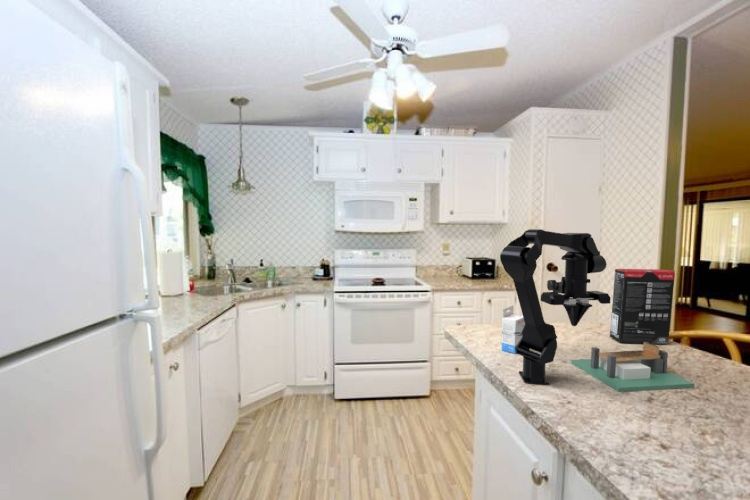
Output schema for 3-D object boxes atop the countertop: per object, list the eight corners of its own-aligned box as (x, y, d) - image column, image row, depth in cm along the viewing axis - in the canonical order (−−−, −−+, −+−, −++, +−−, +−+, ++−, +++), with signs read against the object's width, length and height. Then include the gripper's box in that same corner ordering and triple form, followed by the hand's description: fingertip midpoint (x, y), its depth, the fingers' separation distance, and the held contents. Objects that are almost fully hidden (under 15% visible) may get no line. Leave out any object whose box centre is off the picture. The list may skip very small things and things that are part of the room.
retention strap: (608, 361, 93) (609, 349, 93) (597, 355, 97) (598, 344, 97) (660, 358, 95) (661, 346, 95) (647, 353, 99) (648, 341, 99)
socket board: (618, 391, 86) (619, 365, 86) (571, 363, 104) (572, 341, 104) (694, 387, 89) (696, 361, 88) (635, 360, 106) (636, 338, 106)
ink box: (515, 354, 112) (516, 311, 110) (500, 350, 115) (502, 308, 114) (525, 348, 117) (526, 307, 116) (511, 344, 121) (512, 304, 120)
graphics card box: (657, 339, 126) (661, 268, 124) (671, 345, 119) (676, 270, 117) (609, 337, 128) (612, 267, 125) (620, 344, 121) (624, 270, 119)
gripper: (585, 270, 108) (583, 317, 109) (531, 271, 106) (529, 319, 107) (613, 275, 97) (610, 327, 98) (553, 276, 95) (551, 330, 96)
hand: (573, 325), depth 100 cm, fingers closed
